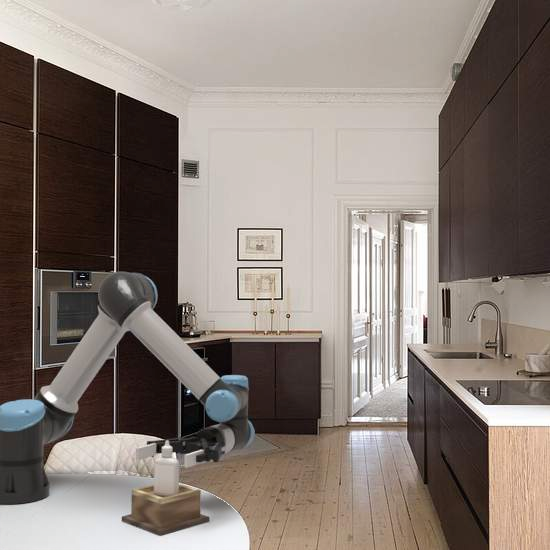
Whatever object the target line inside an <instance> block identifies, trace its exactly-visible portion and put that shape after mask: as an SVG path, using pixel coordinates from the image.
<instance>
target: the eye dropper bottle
mask: <svg viewBox="0 0 550 550" xmlns="http://www.w3.org/2000/svg"><path fill="white" fill-rule="evenodd" d="M153 464H154V466H153V467H154V468H153V485H154V493H155V494H156V495H160V496H172V495H176V494H178V493H179V484H180V461H179V460H178V459H177V458H175V457H173V453H172V446H170V445H169V441H166V442H165V445H164V446H163V447H162V453H161V457H158V458H156V459H155V461H154V463H153Z"/></svg>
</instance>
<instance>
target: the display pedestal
mask: <svg viewBox="0 0 550 550" xmlns="http://www.w3.org/2000/svg"><path fill="white" fill-rule="evenodd" d="M201 499H202V497H201V489H198V488H195V487H192V486H189V485H188V486H187V485H185V484H181V483H179V493H178V494H176V495H172V496H160V495H156V494H155V493H154V484H152V485H151V484H150V485H147V486H143V487H137V488H133V489H131V504H130V505H131V506H130V507H131V508H130V509H131V510H130V514H126V515H123V516H121V522H123V523H125V522H126V524H128V525H131V526H134V527H136V528H138V527H139V528H138V529H141V528H142V529H141V530H144V531H146V532H149V533H152V534H154V535H158V536H159V537H160V536H163V535H167V534H168V535H169V534H171V533H175V532H177V531H178V532H179V531H181V530H184V529H188V528H191V527H194V526H198V525H202V524H204V523H208V522H210V515H209V516H208V515H205V514H203V513H201Z"/></svg>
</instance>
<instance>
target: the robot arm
mask: <svg viewBox="0 0 550 550" xmlns="http://www.w3.org/2000/svg"><path fill="white" fill-rule="evenodd" d="M98 287H99V288H98V292H97V293H98V294H97V297H98V302H99V304H98V305H97V309H98V310H97V311H98V315H97V316H96V318H95V320H94V321H93V322H92V324H91V325H90V327H89V328H88V330H87V331H86V332H85V334H84V335H83V337H82V339H81V340H80V342H79V343H78V344H77V346H76V347H75V349H74V350H73V351H72V353H71V355H69V357H68V359H67V361H66V362H65V363H64V364H63V366H62V367H61V369H60V370H59V371H58V373H57V375H56V376H55V377H54V379H53V381H52V382H51V383H50V385H49V384H48V385H45V386H41V388H40V389H39V391H38V392H37V394H36V395H35V396H34V398H33V399H26V398H25V399H17V400H13V401H7V402H5V403H3V404H1V405H0V505H14V504H15V505H17V504H26V503H33V502H35V501H36V502H37V501H40V500H43V499H45V498H47V497H48V496H49V495H50V482H49V478H48V476H47V472H46V469H45V467H44V466H45V465H44V446H45V445H48V444H50V443H53V442H56V441H58V440H60V439H61V438H63V437H64V436H65V435H66V434H68V432H69V431H70V430H71V428H72V426H73V423H74V419H75V415H76V414H77V413H78V411H79V404H78V401H79V400H80V399H81V397H82V395H83V394H84V392H85V391H86V390H87V388H88V387H89V385H90V384H91V382H92V381H93V380H94V379H95V377H96V375H97V374H98V373H99V371H100V370H101V368H102V367H103V365H104V364H105V362H106V361H107V359H108V358H109V356H110V355H111V354H112V352H113V351H114V349H115V348H116V346H117V345H118V344H119V342H120V341H121V339H122V338H123V337H124V335H125V333H127V332H131V333H132V334H133V335H134V336H135V337H136V338H137V339H138V340H139V341H140V342H141V343H142V344H143V345H144V346H145V347H146V348H147V349H148V350H149V351H150V353H152V354H153V355H154V357H156V358H157V359H158V360H159V361H160V363H162V364H163V366H165V367H166V369H168V371H169V372H171V373H172V374H173V375H174V377H176V378H177V379H178V381H180V382H181V384H182V385H184V386H185V388H186V389H187V390H188V391H189V392H190V393H191V394H192V395H193V396H194V397H195V398H196V399H197V400H198V401H199V402H200V403H201V404H202V405H203V406H204V407H205V411H206V414H207V416H208V417H209V418H210V419H211V420H213V421H215V422H217V423H219V424H215V425H214V424H213V425H211V426H208V427H204V428H201V429H199V430H197V432H196V433H195V434H194V436H191V437H189V438H184V437H182V436H179V437H174V438H166V439H157V440H148V441H146V445H141V446H139V447H136V448H135V461H142V460H144V459H148V458H150V457H152V458H154V457H155V456H156V455H159V454H162V447H163V446H164V445H165V442H166V441H169V445H170V446H172V454H173V453H178V454H180V455H184V463H183V464H184V468H187V469H188V468H190V467H191V468H192V467H193V466H196V465H199V464H202V463H204V462H206V463H209V462H211V460H212V462H213V463H218V462H219V461H220V459H221V457H222V455H224V454H227V453H230V452H234V451H237V450H242V449H243V448H245V447H247V446H249V445H251V443H252V442H253V441H254V439H255V434H256V433H255V432H256V431H255V428H254V426H253V424H252V422H251V421H250V420H249V415H248V414H249V411H248V410H249V391H250V388H249V379H248V377H247V376H246V375H242V374H241V375H239V374H230V375H229V374H228V375H227V374H226V375H222V376H221V377H220V376H219V375H218V374H217V373H216V372H215V371H214V370H213V369H212V368H211V367H210V366H209V365H208V364H207V363H206V362H205V361H204V360H203V359H202V358H201V357H200V355H198V354H197V353H196V352H195V351H194V350H193V349H192V348H191V347H190V346H189V345H188V344H187V343H186V342H185V341H184V340H183V339H182V337H180V336H179V335H178V334H177V333H176V331H175V330H173V329H172V328H171V327H170V326H169V325H168V324H167V323H166V322H165V321H164V320H163V319H162V318H161V316H159V315H158V314H157V313H156V312H155V311H154V308H155V307H156V304H157V302H158V296H159V295H158V290H157V286H156V284H155V283H154V281H153V280H152V279H150V278H149V277H148V276H146V275H144V274H142V273H139V272H127V271H116V272H112V273H110V274H108V275H107V276H106V277H104V279H103V280H102V281H101V282H100V284H99V286H98Z"/></svg>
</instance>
